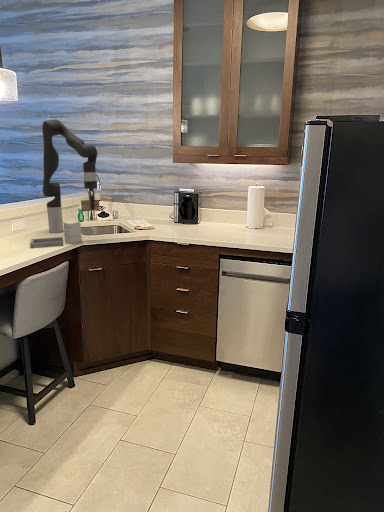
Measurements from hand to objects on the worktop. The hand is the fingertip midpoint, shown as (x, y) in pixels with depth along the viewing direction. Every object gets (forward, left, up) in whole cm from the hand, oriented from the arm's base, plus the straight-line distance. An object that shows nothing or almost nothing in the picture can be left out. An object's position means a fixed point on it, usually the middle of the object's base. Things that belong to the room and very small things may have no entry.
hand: (92, 208), depth 240 cm
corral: (0, -28, -20) cm, 34 cm away
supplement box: (0, -13, -20) cm, 24 cm away
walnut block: (0, -1, -1) cm, 1 cm away
